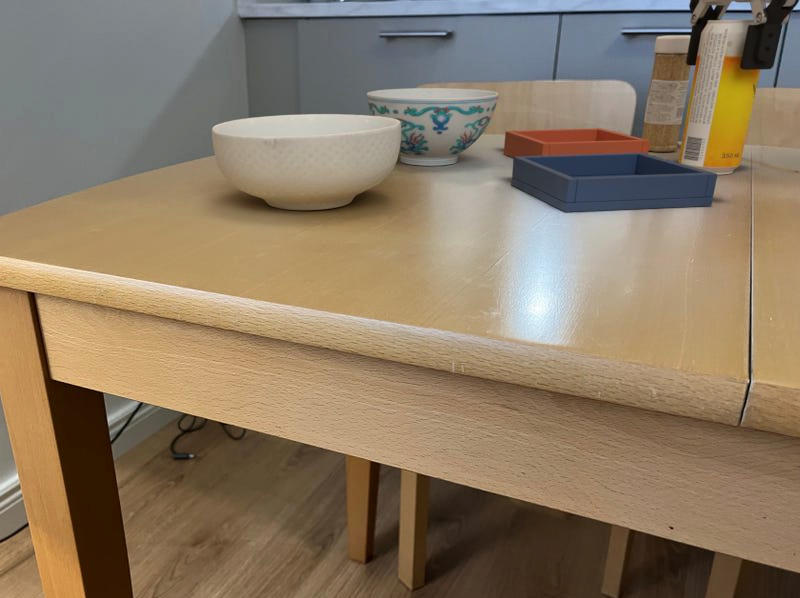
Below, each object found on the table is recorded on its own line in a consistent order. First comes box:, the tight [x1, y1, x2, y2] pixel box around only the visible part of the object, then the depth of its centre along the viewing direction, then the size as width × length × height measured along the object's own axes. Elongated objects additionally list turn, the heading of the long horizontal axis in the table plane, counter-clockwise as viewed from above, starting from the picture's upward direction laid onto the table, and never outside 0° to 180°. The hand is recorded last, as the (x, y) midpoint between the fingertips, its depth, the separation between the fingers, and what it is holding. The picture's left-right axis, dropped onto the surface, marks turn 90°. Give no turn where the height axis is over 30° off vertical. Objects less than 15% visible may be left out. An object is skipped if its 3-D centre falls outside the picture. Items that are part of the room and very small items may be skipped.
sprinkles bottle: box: [641, 34, 692, 153], centre depth 93 cm, size 5×5×14 cm
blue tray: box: [510, 153, 718, 213], centre depth 70 cm, size 14×13×3 cm
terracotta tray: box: [503, 127, 650, 159], centre depth 89 cm, size 13×12×3 cm
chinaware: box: [366, 87, 499, 167], centre depth 88 cm, size 15×15×8 cm
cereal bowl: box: [211, 113, 401, 211], centre depth 68 cm, size 17×17×7 cm
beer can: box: [677, 19, 761, 176], centre depth 79 cm, size 6×6×15 cm
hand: (726, 66), depth 78 cm, fingers open, 8 cm apart
